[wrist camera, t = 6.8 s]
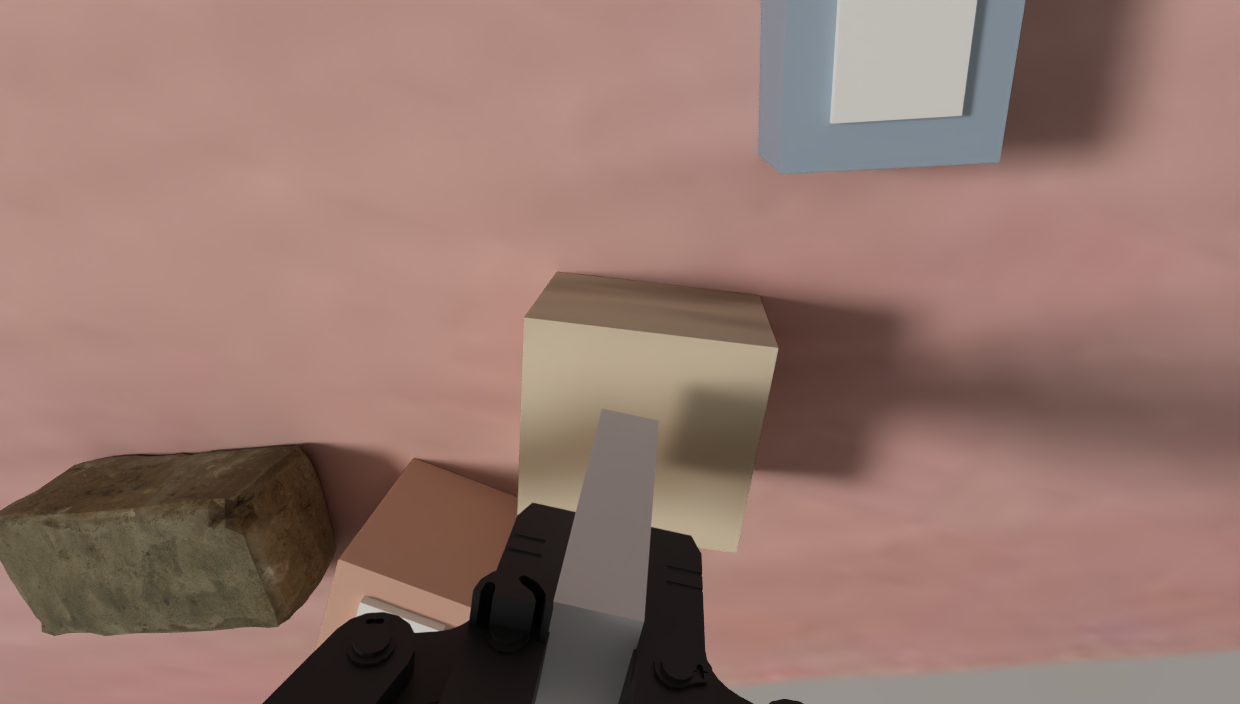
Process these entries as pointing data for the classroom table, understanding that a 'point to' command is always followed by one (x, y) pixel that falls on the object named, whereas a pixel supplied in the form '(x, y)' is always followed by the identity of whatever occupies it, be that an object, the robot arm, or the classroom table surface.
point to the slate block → (885, 82)
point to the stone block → (170, 542)
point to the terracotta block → (422, 551)
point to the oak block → (648, 394)
